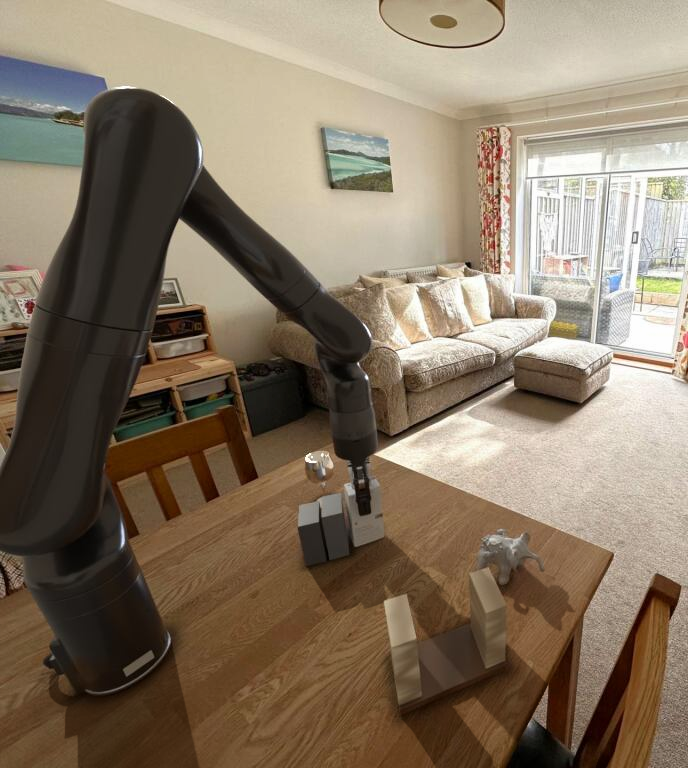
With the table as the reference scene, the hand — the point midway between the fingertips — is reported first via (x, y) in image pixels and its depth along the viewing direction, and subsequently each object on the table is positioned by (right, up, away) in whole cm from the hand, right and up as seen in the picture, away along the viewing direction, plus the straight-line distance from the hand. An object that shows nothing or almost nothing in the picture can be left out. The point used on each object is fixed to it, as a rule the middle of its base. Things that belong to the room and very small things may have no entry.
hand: (364, 505), depth 78 cm
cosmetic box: (0, -7, +3) cm, 8 cm away
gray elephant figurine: (+28, -11, -4) cm, 31 cm away
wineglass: (-14, -3, +13) cm, 19 cm away
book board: (+20, -17, -20) cm, 33 cm away
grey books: (-7, -9, 0) cm, 11 cm away
